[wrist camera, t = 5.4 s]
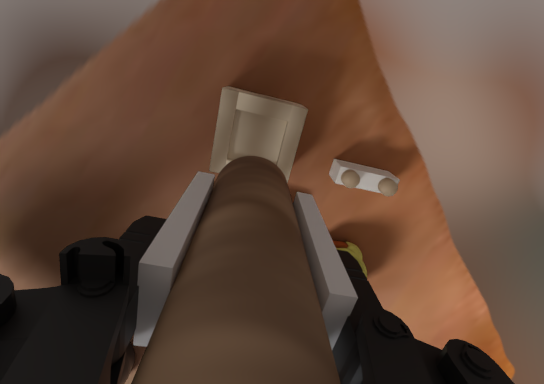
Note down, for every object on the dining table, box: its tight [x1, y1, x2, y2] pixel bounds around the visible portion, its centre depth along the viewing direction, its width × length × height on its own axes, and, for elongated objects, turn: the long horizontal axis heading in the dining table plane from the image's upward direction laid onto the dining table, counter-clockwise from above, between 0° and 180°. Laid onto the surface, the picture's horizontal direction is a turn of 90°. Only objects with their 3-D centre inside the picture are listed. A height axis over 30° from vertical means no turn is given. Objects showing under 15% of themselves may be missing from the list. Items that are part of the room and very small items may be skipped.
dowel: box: [131, 156, 341, 384], centre depth 9 cm, size 4×4×12 cm
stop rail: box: [329, 159, 400, 196], centre depth 31 cm, size 7×2×4 cm, turn 76°
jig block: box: [209, 86, 308, 183], centre depth 28 cm, size 8×8×5 cm
